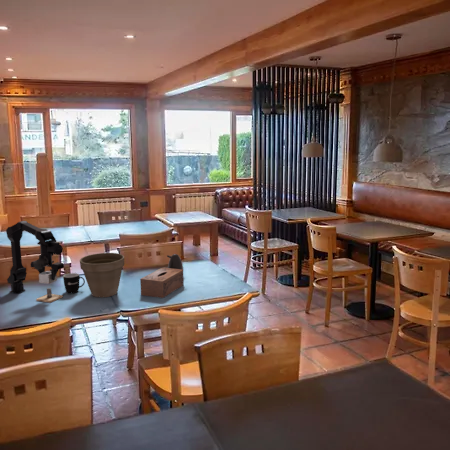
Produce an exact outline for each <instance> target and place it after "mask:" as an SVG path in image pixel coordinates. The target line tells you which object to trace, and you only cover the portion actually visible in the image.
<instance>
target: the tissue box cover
mask: <svg viewBox="0 0 450 450" xmlns="http://www.w3.org/2000/svg"><path fill="white" fill-rule="evenodd" d="M139 280H140V296H146V297H153V298H161V299H163V298H166V297H167V296H168V295H171V294H172V293H173V292H175V291H177V290H178V289H180V288H181V287H183V286H184V269H183V270H181V269H171V268H168V267H161V268H159V269H157V270H154V271H153V272H151V273H149V274H147V275H145V276H143V277H141V278H139Z"/></svg>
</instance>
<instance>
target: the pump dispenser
mask: <svg viewBox="0 0 450 450" xmlns="http://www.w3.org/2000/svg"><path fill="white" fill-rule="evenodd" d="M166 257H167V258H169V261H168V264H167V265H168V266H167V268H171V269H181V270H183V271H184V265H183V262H182V259H181V257H180V255H179V254H176V253H172V255H169V254H168V255H166Z"/></svg>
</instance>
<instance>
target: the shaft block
mask: <svg viewBox="0 0 450 450" xmlns="http://www.w3.org/2000/svg"><path fill="white" fill-rule="evenodd" d="M62 298H63V295H61V294H54V293H52V288H51V287H48V288H46V294H45V295H42V296H39V297H38V298H36V299H35V300H36V302H45V303H50V304H51V303H53V302H56V301H57V300H60V299H62Z"/></svg>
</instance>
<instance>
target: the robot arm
mask: <svg viewBox="0 0 450 450" xmlns="http://www.w3.org/2000/svg"><path fill="white" fill-rule="evenodd" d="M24 231H25V232H27V233H28V234H30V235H33V236H34V238H35V239H36V240H37V241H38V242H37V243H36V244H37V245H38V246H40V247H39V249H40V254H39V255H38V259H35V260H33V261H31V262H30V268H33V269H35V270H36V271H38V273H39V274H40V273H42V272H45V271H46V267H49V268H51V269H49V271H51V275H52V280H54V279H55V276H56V274H57V273H58V272H59V270H61V269H64V268H65V264H64V263H63V262H59V261H57V262H55V261H54V260H53V256H54V255H56V256H59V255H62V253H63V250H64V249H63V248H64V247H63V246H62V245H61V244H60V242H58V240H56V239H57V238H56V237H55V235H54V234H53V232H52V231H51V230H50V229H47V228H40V227H38V226H36V225H34V224H32V223H29V222H28V221H27V220H21V221H18V222H16V223H15V224H13V225H11V226H8V227H7V228H6V230H5V232H6V237H7V239H8V240H9V242H10V249H11V250H10V251H11V261H12V262H11V263H12V266H11V268H10V272H9V276H8V277H7V279H6V280H7V283H8V284H10V291H9V293H11V294H12V293H13V294H20V293H22V292H25V291H26V289H24V287H25V286H24V281H26V278H27V274H28V273H27V267H25V266H24V265H23V261H22V250H21V249H22V248H21V239H22V238H23V232H24Z"/></svg>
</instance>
